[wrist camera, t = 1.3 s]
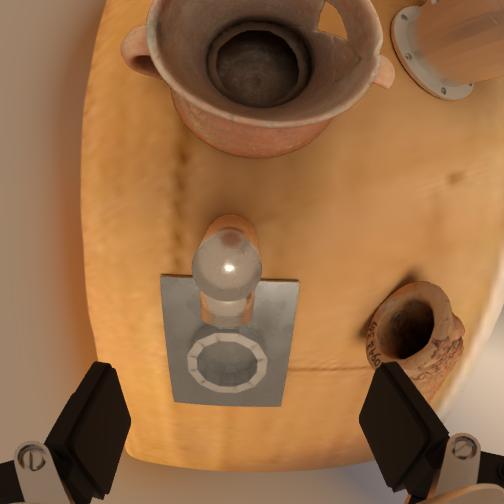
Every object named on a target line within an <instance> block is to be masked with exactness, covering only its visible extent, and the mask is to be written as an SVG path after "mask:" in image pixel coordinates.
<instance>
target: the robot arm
mask: <svg viewBox="0 0 504 504" xmlns="http://www.w3.org/2000/svg"><path fill="white" fill-rule="evenodd" d="M391 37H392V42H393V45H394V49H395V51H396V53H397V56H398V58H399V59H400V61H401V63H402V65H403V66H404V68H405V69H406V70H407V72H408V73H409V75H410V76H411V77H412V78H413V79H414V80H415V81H416V82H417V83H418V84H419V85H420V86H421V87H422V88H423V89H424V90H426V91H427V92H429V93H430V94H432V95H433V96H435V97H438V98H440V99H443V100H448V101H454V100H459V99H463V98H465V97H467V96H468V95H469V94H470V93H471V91H472V89H473V87H474V84H475V82H479V81H484V80H488V79H493V78H498V77H504V0H439V1H437V0H427V2H426V3H425V4H423V5H422V6H408V7H406V8H403V9H402V10H401V11H399V12H398V13H397V14H396V15H395V17H394V19H393V21H392V25H391ZM359 423H360V426H361V428H362V430H363V432H364V435H365V437H366V439H367V441H368V444H369V446H370V448H371V450H372V453H373V455H374V457H375V459H376V462H377V464H378V466H379V468H380V471H381V473H382V475H383V478H384V480H385V482H386V485H387V486H388V487H391V488H392V490H393V492H394V493H395V492H398V491H401V490H403V489H406V490H407V492H408V495H407V498H406V500H405V503H404V504H504V456H501V455H496V454H491V453H487V452H483V451H481V450H480V449H481V448H480V444H479V442H478V441H477V439H476V438H475V437H473V436H472V435H470V434H467V433H458V434H455V435H453V436H452V437H451V438H450V437H449V436H448V434H449V432H448V431H447V429H446V428H445V426H444V425H443V423H442V422H441V421H440V419H439V418H438V416H437V415H436V414H435V412H434V411H433V409H432V408H431V407H430V405H429V404H428V402H427V401H426V400H425V398H424V397H423V396H422V394H421V393H420V391H419V390H418V389H417V387H416V386H415V385H414V383H413V382H412V381H411V379H410V378H409V377H408V375H407V374H406V373H405V371H404V370H403V369H402V367H401V366H400V365H399V363H398V362H396V361H392V362H386V363H381V364H380V366H379V367H378V368H376V370H375V373H374V376H373V379H372V382H371V385H370V388H369V391H368V394H367V396H366V399H365V402H364V404H363V407H362V410H361V412H360V415H359ZM130 426H131V417H130V414H129V411H128V408H127V405H126V402H125V399H124V396H123V393H122V389H121V386H120V383H119V379H118V376H117V372H116V369H115V368H112V366H111V365H110V364H109V363H103V362H97V361H96V362H94V363H93V364H92V366H91V367H90V369H89V370H88V372H87V374H86V375H85V377H84V379H83V380H82V382H81V383H80V385H79V387H78V388H77V390H76V392H75V393H73V394H72V395H71V397H70V399H69V400H68V402H67V404H66V405H65V407H64V409H63V410H62V412H61V414H60V416H59V417H58V419H57V421H56V423H55V424H54V426H53V428H52V430H51V432H50V433H49V435H48V437H47V439H46V441H45V443H44V444H42V443H40V442H37V441H27V442H25V443H22V444H21V445H20V446H18V448H17V449H16V451H15V453H14V460H12V461H8V462H5V463H1V464H0V504H90V502H91V499H92V497H94V498H98V499H101V500H103V499H104V496H105V494H109V492H110V489H111V486H112V483H113V480H114V476H115V473H116V470H117V466H118V463H119V460H120V457H121V453H122V450H123V447H124V444H125V441H126V438H127V435H128V432H129V429H130Z"/></svg>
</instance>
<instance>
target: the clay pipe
mask: <svg viewBox="0 0 504 504" xmlns="http://www.w3.org/2000/svg"><path fill="white" fill-rule="evenodd" d="M464 333H465V329H464V326H463V324H462V322H461V320H460V319H459V318H458V317H457V316H455V315H454V314H453V313H452V309H451V305H450V302H449V299H448V296H447V295H446V294H445V293H444V291H443V290H442V289H441V288H440V287H438V286H437V285H434V284H431V283H429V282H425V281H418V282H412V283H409V284H407V285H405V286H403V287H401V288H400V289H398V290H397V291H396V292H394V293H393V294H392V295H391V296H389V297H388V298H387V299H386V300H385V301H384V302H383V303H382V304H381V305H380V306H379V308H378V309H377V311H376V313H375V315H374V317H373V319H372V321H371V323H370V326H369V329H368V332H367V339H366V354H367V358H368V361H369V363H370V365H371V366H372V368H373V369H374V370H376V368H378V367H379V366H380V364H381V363H386V362H392V361H396V362H398V363H399V365H400V366H401V367H402V369H403V370H404V371H405V373H406V374H407V375H408V377H409V378H410V379H411V381H412V382H413V383H414V385H415V386H416V387H417V389H418V390H419V391H420V393H421V394H422V396H423V397H424V398H425V400H426V401H427V402H428V404H430V402H431V400H432V399H433V397H434V395H435V393H436V391H438V390H439V389H440V387H441V386H442V383H443V382H444V380H445V378H446V377H447V376H448V375H449V373H450V372H451V371H452V370H453V368H454V366H455V364H456V362H457V361H458V360H459V359H460V357H461V356H462V353H463V349H464V347H463V339H462V336H463V335H464Z"/></svg>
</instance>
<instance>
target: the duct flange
mask: <svg viewBox="0 0 504 504" xmlns="http://www.w3.org/2000/svg"><path fill="white" fill-rule="evenodd" d="M160 282H161V296H162V308H163V319H164V330H165V339H166V348H167V356H168V364H169V371H170V378H171V385H172V391H173V397H174V402H180V403H190V404H202V405H217V406H244V407H277V406H281V403H282V397H283V391H284V386H285V380H286V374H287V368H288V361H289V355H290V349H291V342H292V335H293V328H294V321H295V314H296V307H297V299H298V291H299V283H300V282H299V280H276V279H260V281H259V283H258V285H257V287H256V288H255V298H254V314H253V319H252V320H251V321H250V322H249V323H247V324H245V325H243V326H239V327H234V328H222V327H216V326H213V325H210V324H208V323H206V322H205V321H204V320H203V319H202V318H201V316H200V289H199V287H198V286H197V285H196V283H195V281H194V278H193V276H182V275H165V274H162V275H161V276H160Z"/></svg>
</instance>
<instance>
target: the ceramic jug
mask: <svg viewBox="0 0 504 504" xmlns="http://www.w3.org/2000/svg"><path fill="white" fill-rule="evenodd" d="M325 1H327V2H329V3H330V4H331V5H333V6H334V7H335V8H336V9H337V10H338V12H339V14H340V15H341V17H342V19H343V22H344V25H345V29H346V32H347V36H348V42H347V41H346V40H344V39H342V38H341V37H340V36H338V35H333V34H330V33H327V32H325V31H319V30H318V22H319V18H320V13H321V11H322V9H323V6H324V4H325ZM382 44H383V33H382V27H381V23H380V20H379V16H378V14H377V12H376V10H375V8H374V6H373V4H372V2H371V1H370V0H153V2H152V4H151V6H150V9H149V12H148V15H147V20H146V24H144V25H141V26H138V27H135V28H134V29H132V30H131V31H130V32H129V34H128V35H127V36H126V37H125V39H124V40H123V42H122V44H121V54H122V56H123V58H124V60H125V61H126V63H127V65H128V66H129V67H130V68H131V69H133V70H134V71H136V72H139V73H141V74H144V75H148V76H152V77H155V78H159V79H162V80H165V81H166V83H167V84H168V85H169V86H170V89H171V94H172V99H173V103H174V105H175V108H176V110H177V112H178V114H179V116H180V118H181V119H182V121H183V122H184V123H185V125H186V126H187V127H188V128H189V129H190V131H191V132H192V133H193V134H195V135H196V136H197V137H198V138H200V139H201V140H202V141H204V142H205V143H207V144H208V145H210V146H212V147H214V148H216V149H218V150H220V151H223V152H226V153H229V154H232V155H236V156H241V157H247V158H270V157H276V156H280V155H284V154H287V153H290V152H293V151H295V150H298V149H300V148H302V147H304V146H305V145H307V144H309V143H310V142H311V141H313V140H314V139H315V138H316V137H317V136H318V135H320V134H321V132H322V131H323V130H324V129H325V128H326V127H327V126H328V124H329V123H330V121H331V120H332V118H333V117H335V116H337V115H339V114H341V113H342V112H344V111H346V110H347V109H348V108H350V107H351V106H352V105H354V104H355V103H356V102H357V101H358V100H359V99H361V98H362V97H363V95H364V94H365V93H366V92H367V91H368V89H369V88H370V86H371V85H372V83H374V84H377V85H379V86H381V87H383V88H384V89H389V88H390V86H391V85H392V83H393V82H394V79H395V69H394V67H393V64H392V63H391V61H390V60H389V59H387V58H386V57H385V56H383V55H381V54H380V49H381V46H382Z"/></svg>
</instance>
